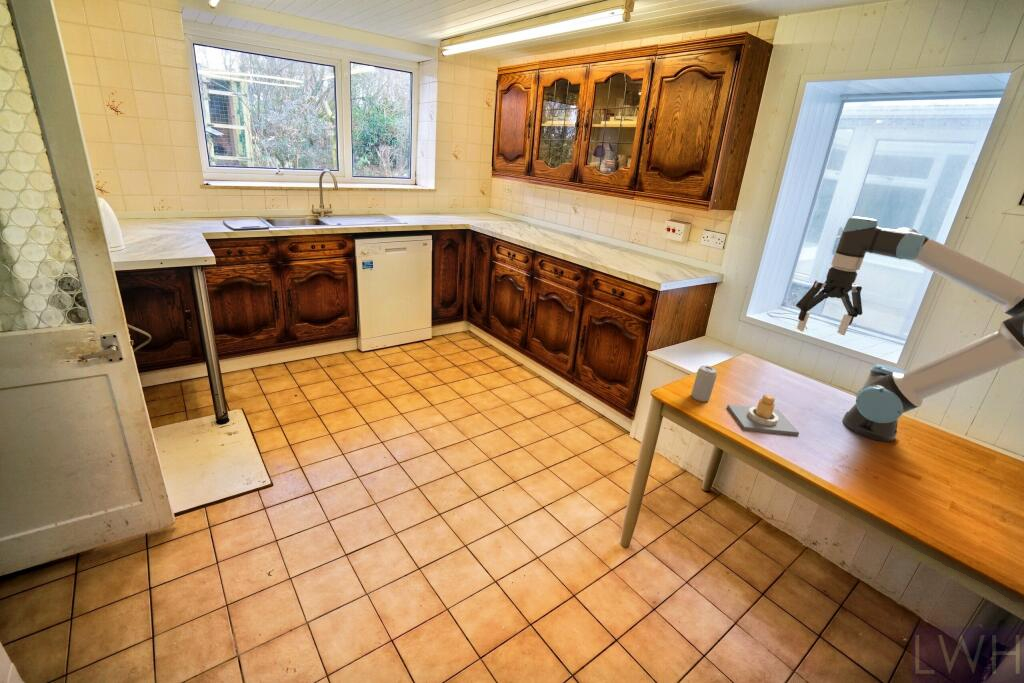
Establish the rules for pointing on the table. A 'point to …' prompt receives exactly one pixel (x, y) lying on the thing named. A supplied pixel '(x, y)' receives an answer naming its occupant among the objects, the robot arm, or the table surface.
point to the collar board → (760, 427)
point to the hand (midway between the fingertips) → (820, 331)
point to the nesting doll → (765, 407)
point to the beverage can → (704, 383)
